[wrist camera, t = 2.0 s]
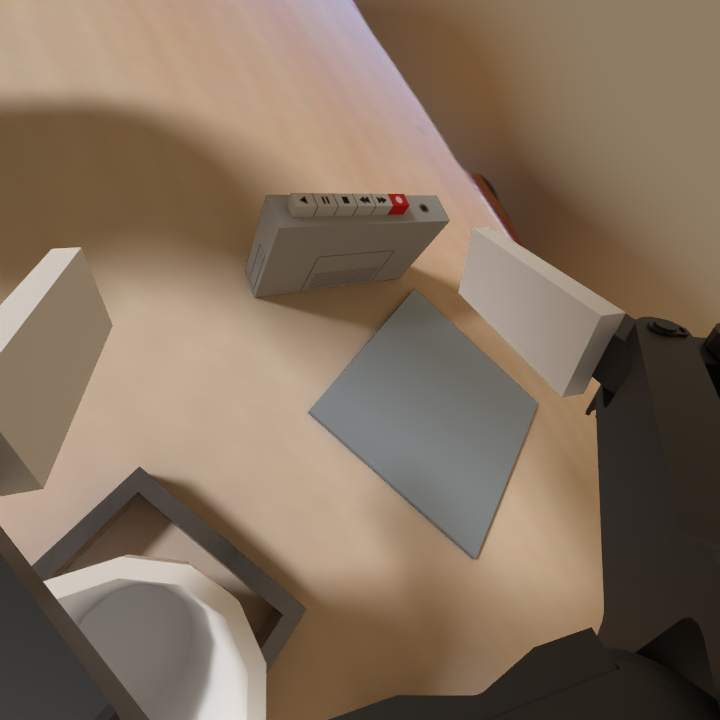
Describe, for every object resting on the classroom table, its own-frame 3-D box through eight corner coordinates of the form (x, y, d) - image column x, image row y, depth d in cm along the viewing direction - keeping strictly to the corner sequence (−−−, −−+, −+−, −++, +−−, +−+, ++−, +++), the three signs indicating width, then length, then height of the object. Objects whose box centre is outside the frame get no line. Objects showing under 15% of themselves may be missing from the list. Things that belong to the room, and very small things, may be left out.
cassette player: (388, 257, 41) (443, 187, 33) (398, 279, 41) (457, 212, 33) (244, 271, 34) (269, 183, 25) (254, 298, 33) (282, 217, 25)
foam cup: (162, 514, 24) (156, 495, 13) (254, 633, 24) (324, 712, 13) (-21, 656, 19) (-273, 811, 8) (93, 812, 18) (-14, 1195, 8)
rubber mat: (307, 412, 31) (309, 410, 30) (412, 291, 41) (414, 288, 40) (472, 558, 32) (476, 558, 31) (534, 404, 42) (538, 403, 41)
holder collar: (-104, 703, 17) (-142, 725, 15) (142, 472, 25) (139, 466, 23) (119, 877, 18) (113, 920, 16) (295, 603, 25) (306, 608, 23)
